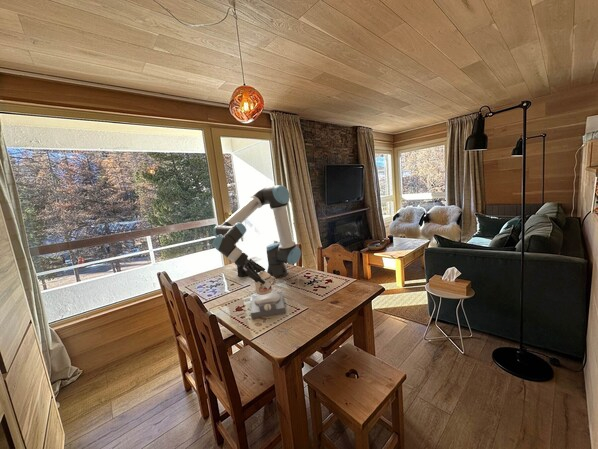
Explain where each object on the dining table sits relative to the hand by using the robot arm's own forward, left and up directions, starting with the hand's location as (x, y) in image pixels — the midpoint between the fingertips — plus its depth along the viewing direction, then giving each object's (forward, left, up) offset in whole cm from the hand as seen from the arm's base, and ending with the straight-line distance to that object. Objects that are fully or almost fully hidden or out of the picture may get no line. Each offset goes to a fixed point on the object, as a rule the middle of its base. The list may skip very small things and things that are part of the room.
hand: (270, 283), depth 138 cm
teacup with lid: (-1, -3, -5) cm, 6 cm away
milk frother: (-55, -16, -13) cm, 59 cm away
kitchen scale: (+2, -3, -12) cm, 13 cm away
